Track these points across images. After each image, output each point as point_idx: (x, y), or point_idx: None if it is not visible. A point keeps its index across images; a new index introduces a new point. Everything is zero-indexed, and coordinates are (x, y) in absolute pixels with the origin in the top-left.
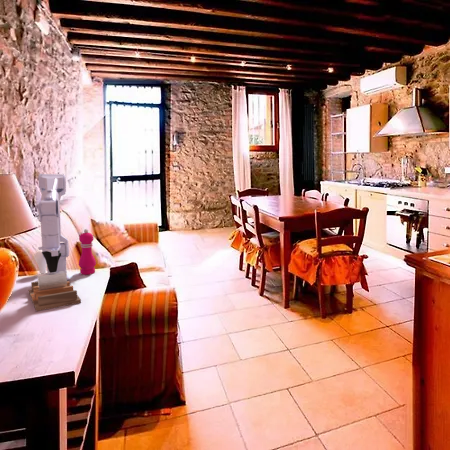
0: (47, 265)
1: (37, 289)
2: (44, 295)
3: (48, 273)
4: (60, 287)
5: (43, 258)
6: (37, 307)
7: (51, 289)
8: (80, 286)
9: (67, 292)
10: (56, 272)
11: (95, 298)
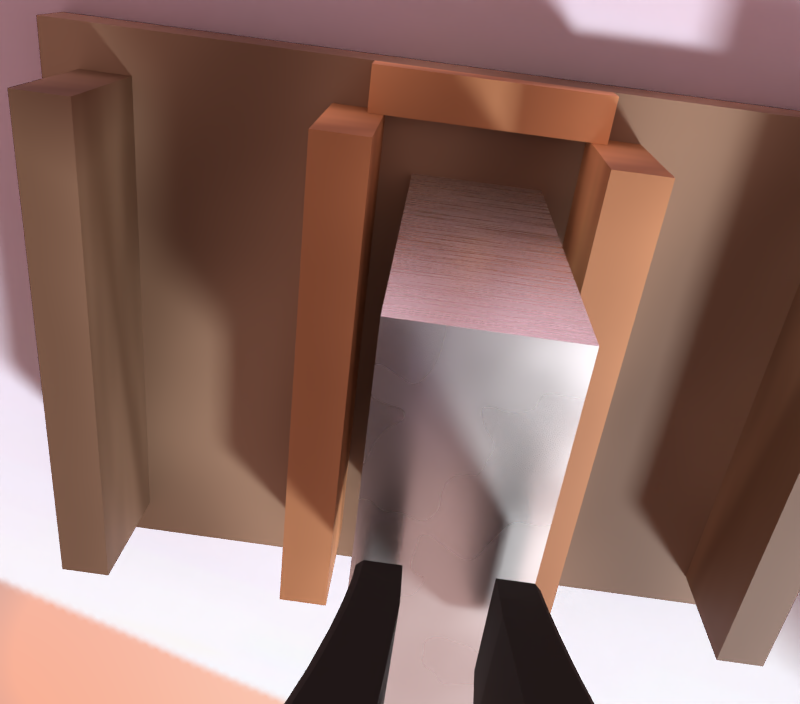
0: (520, 683)
1: (587, 213)
2: (79, 198)
3: (479, 529)
4: (337, 479)
5: None
6: (39, 37)
7: (317, 362)
8: (627, 658)
9: (64, 477)
10: (448, 646)
11: (156, 623)
